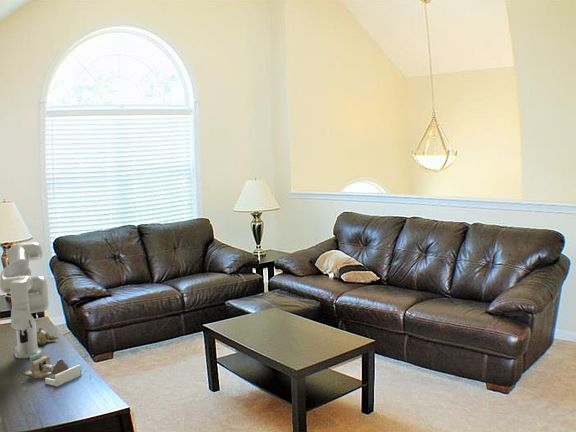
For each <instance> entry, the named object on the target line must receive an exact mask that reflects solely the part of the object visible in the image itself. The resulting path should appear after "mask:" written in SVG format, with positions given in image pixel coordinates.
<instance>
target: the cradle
mask: <svg viewBox="0 0 576 432" xmlns="http://www.w3.org/2000/svg"><path fill="white" fill-rule="evenodd" d="M80 376H82V365H81V364H77V365H75V366H72V367H69V369H68V370H65V371H63V372H61V373H59V374H56V375H55V377H54V378H49V377H44V379H45V385H51V386H55V387H59V386H60V385H63V384H66V383H67V382H69V381H72V380H74V379H77V378H79V377H80Z"/></svg>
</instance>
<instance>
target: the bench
mask: <svg viewBox="0 0 576 432" xmlns="http://www.w3.org/2000/svg"><path fill="white" fill-rule="evenodd" d="M41 362H42V363H44V364H49V365H51V361H50V356H42V358H39V359H37V360H34V361H32V362H31V366H30V369H29V370H26V371H24V372H23V374H24V375H27V376H32V377H31V378H35V379H37V378H41V379H45V378H47V377H48V376H51V375H54V374H53V373H51V372H48V371H44V370H39V363H41ZM31 370H32V372H31Z"/></svg>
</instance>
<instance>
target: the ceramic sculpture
mask: <svg viewBox="0 0 576 432" xmlns="http://www.w3.org/2000/svg"><path fill="white" fill-rule="evenodd" d="M36 333H37V344H38V345H42V346H43V345H45V344H46V343H48V342H49V341H51V342H52V341H56V340H57V339H59V338H58V336H57V337H56V336H55V335H53V334H50V333H49V331H48V330H45V329H43V328H38V329H36Z"/></svg>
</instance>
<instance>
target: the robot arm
mask: <svg viewBox="0 0 576 432" xmlns="http://www.w3.org/2000/svg"><path fill="white" fill-rule="evenodd" d="M6 257H7V261H8V264H7V266H6V267H4V268H3V269H2V271H1V273H0V291H1V292H2V293H4V294H10V301H11V311H10V323H11V324H10V325H11V328H12V329H14V330H15V332H16V342H17V345H16V346H15V347H14V350H16V351H17V352H16V353H14V356H15V358H17V359H30V356H33V355H36V354H38V353H40V354H42V349H40V348H39V346H38V345H39V343H38V342H37V333H36V330H37V324H36V322H37V321H36V320H35V318H34V316H33V315H32V314H34V313H42V312H45V311H47V310H48V309H49V303H50V302H49V300H50V299H49V291H48V290H49V289H48V282H47V279H46V277H44V276H43V275H37V276H36V275H35V276H32V270H31V268H30V266H29V265H30V263H29V261H38V260H41V259H42V258H43V248H42V246H41V244H40V243H38V241H37V242H35V241H33V242H22V243H21V242H20V243H16V244H14V245H13V246H11V247H9V248H8V249H7V250H6Z"/></svg>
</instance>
